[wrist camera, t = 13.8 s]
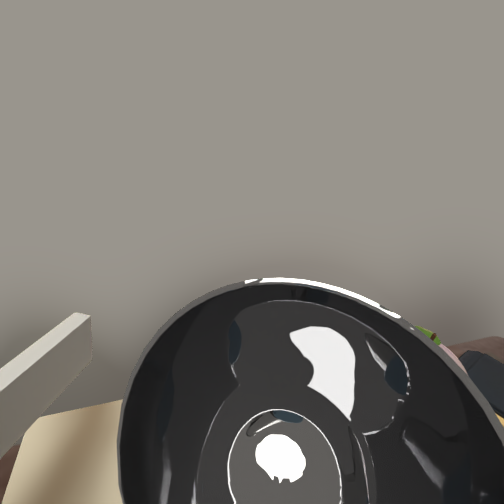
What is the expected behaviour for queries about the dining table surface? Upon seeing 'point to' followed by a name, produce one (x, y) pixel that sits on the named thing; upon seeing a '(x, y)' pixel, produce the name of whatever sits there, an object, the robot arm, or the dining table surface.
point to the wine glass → (302, 406)
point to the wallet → (486, 378)
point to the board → (69, 459)
